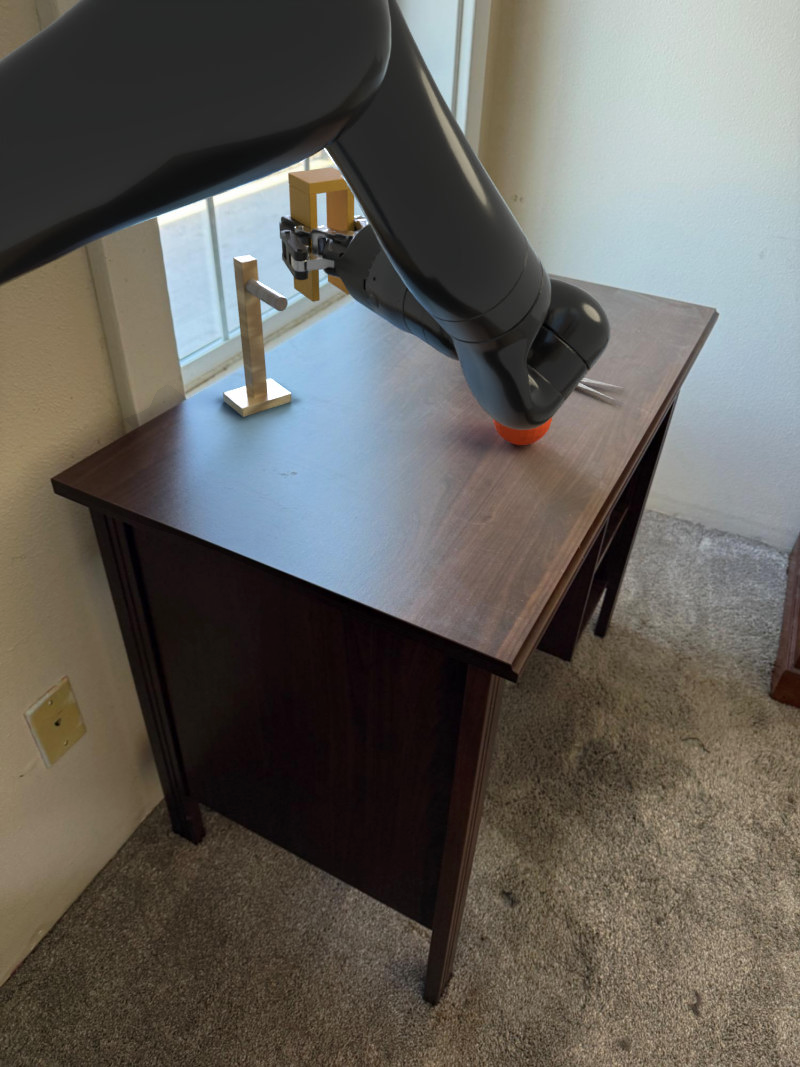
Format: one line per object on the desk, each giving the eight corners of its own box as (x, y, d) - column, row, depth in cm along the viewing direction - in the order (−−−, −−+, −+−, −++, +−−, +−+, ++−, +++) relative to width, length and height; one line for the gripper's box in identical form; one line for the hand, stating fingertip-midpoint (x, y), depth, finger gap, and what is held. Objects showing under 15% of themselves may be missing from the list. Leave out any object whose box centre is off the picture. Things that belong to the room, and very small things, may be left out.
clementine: (472, 431, 91) (478, 378, 87) (516, 417, 94) (524, 365, 90) (515, 462, 86) (523, 407, 82) (559, 446, 89) (570, 393, 85)
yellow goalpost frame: (313, 302, 74) (308, 183, 67) (293, 288, 76) (287, 172, 69) (354, 293, 76) (354, 177, 69) (334, 280, 78) (332, 166, 71)
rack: (264, 434, 89) (251, 285, 77) (223, 401, 95) (206, 257, 83) (313, 417, 92) (307, 272, 81) (271, 386, 98) (260, 247, 87)
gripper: (476, 221, 64) (369, 173, 75) (332, 248, 58) (238, 191, 68) (467, 305, 69) (368, 249, 80) (334, 339, 62) (245, 272, 73)
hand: (308, 222), depth 74 cm, fingers closed on yellow goalpost frame, 4 cm apart
